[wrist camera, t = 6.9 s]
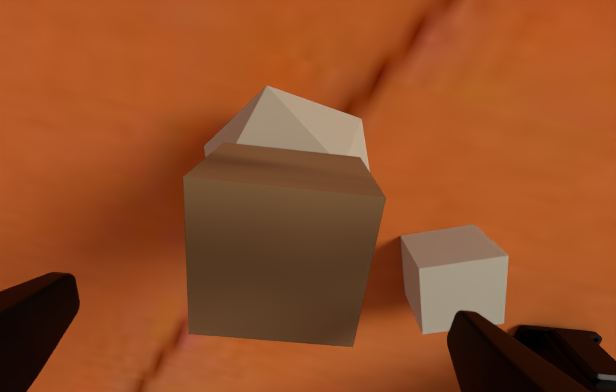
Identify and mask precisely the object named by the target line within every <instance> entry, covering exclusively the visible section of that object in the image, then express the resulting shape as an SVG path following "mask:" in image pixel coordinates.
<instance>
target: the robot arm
mask: <svg viewBox="0 0 616 392" xmlns="http://www.w3.org/2000/svg"><path fill="white" fill-rule="evenodd" d="M79 306H80V300H79V295H78V290H77V284H76V279H75V277H74V276H73V275H72V274H70V273H61V272H51V273H48V274H45V275H43V276H40V277H37V278H35V279H32V280H29V281H27V282H24V283H21V284H19V285H16V286H13V287H11V288H8V289H5V290H3V291H0V392H27V390H28V389H29V387H30V386H31V385H32V383H33V382H34V380H35V379H36V378H37V376H38V375H39V373H40V372H41V370H42V369H43V367H44V365H45V364H46V362H47V361H48V359H49V357H50V356H51V354H52V353H53V351H54V349H55V348H56V346H57V345H58V343H59V341H60V340H61V338H62V337H63V335H64V333H65V332H66V330H67V329H68V327H69V325H70V324H71V322H72V321H73V319H74V317H75V316H76V314H77V312H78V310H79ZM601 341H602V337H601V336H600V335H598V334H597V333H596V332H592V331H582V330H571V329H561V328H550V327H539V326H529V325H523V326H521V327H519V329H518V330H517V332H516V334H515V336H514V338H513V337H512V336H510V335H509V334H507V333H506V332H505V331H503V330H502V329H500V328H499V327H497V326H496V325H495V324H493V323H492V322H490V321H489V320H487V319H486V318H485V317H483V316H482V315H480V314H479V313H477V312H475V311H466V310H459V311H458V312H457V313H456V314H455V316H454V319H453V322H452V324H451V327H450V330H449V332H448V335H447V345H448V349H449V352H450V356H451V359H452V363H453V366H454V370H455V373H456V376H457V380H458V383H459V387H460V390H461V392H616V361H615V360H614V359H613V358H612V357H611V356H610V355H609V354H608V353H607V352H606V351H605V350H604V349H602V348H601V347H600V346H599V344H600V343H601Z"/></svg>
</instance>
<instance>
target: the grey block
mask: <svg viewBox="0 0 616 392" xmlns="http://www.w3.org/2000/svg"><path fill="white" fill-rule="evenodd" d="M400 238H401V251H402V263H403V276H404V289H405V295H406V298H407V300H408V302H409V304H410V307H411V309H412V311H413V314H414V316H415V318H416V320H417V323H418V325H419V327H420V329H421V332H422V334H430V333H437V332H445V331H449V330H450V327H451V324H452V322H453V319H454V316H455V314H456V313H457V312H458V311H459V310H466V311H475V312H477V313H479V314H480V315H482V316H483V317H485V318H486V319H487V320H489V321H490V322H492V323H493V324H495V325H497V324H504V315H505V300H506V286H507V271H508V257H509V255H508V254H506V253H505V252H504V251H503V250H502V249H501V248H500V247H499V246H498V245H497V244H495V243H494V242H493V241H492V240H491V239H490V238H489V237H488V236H487V235H486V234H484V233H483V232H482V231H481V230H480V229H479V228H478V227H477V226H476V225H475V224H473V225H466V226H460V227H453V228H447V229H441V230H434V231H428V232H422V233H415V234H409V235H402V236H400Z"/></svg>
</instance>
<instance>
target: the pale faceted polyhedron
mask: <svg viewBox="0 0 616 392" xmlns="http://www.w3.org/2000/svg"><path fill="white" fill-rule="evenodd" d="M223 142H227V143H236V144H245V145H254V146H263V147H273V148H282V149H291V150H300V151H309V152H318V153H327V154H337V155H346V156H355V157H360V158H361V159H362V161H363V162H364V164H365V165H366V167H367V169H368V170H369V163H368V157H367V151H366V145H365V138H364V132H363V126H362V119H360V118H358V117H355V116H352V115H349V114H346V113H343V112H341V111H338V110H335V109H332V108H329V107H327V106H324V105H321V104H318V103H315V102H312V101H310V100H307V99H304V98H301V97H298V96H295V95H293V94H290V93H287V92H284V91H281V90H278V89H276V88H273V87H270V86H266V87H265V88H264V89H263V90H262V91H261V92H260V93H259V94H258V95H257V96H255V97H254V98H253V99H252V100H251V101H250V102H249V103H248V104H247V105H246V106H245V107H244V108H243V109H242V110H241V111H240V112H239V113H238V114H237V115H236V116H235V117H234V118H232V119H231V120H230V121H229V122H228V123H227V124H226V125H225V126H224V127H223V128H222V129H221V130H220V131H219V132H218V133H217V134H216V135H215V136H214V137H213V138H212V139H211V140H210V141H208V142H207V143H206V144H205V145H204V152H205V158H206V157H207V156H208V155H209V154H210V153H212V152H213V151H214V150H215V149H216V148H218V147H219V146H220V145H221V144H222V143H223ZM369 172H370V170H369Z"/></svg>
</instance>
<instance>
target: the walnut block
mask: <svg viewBox="0 0 616 392" xmlns="http://www.w3.org/2000/svg"><path fill="white" fill-rule="evenodd" d="M183 187H184V214H185V241H186V268H187V294H188V321H189V334H197V335H209V336H222V337H234V338H246V339H259V340H271V341H284V342H296V343H308V344H321V345H333V346H346V347H353V345H354V340H355V336H356V331H357V326H358V322H359V317H360V313H361V308H362V304H363V299H364V295H365V290H366V286H367V281H368V277H369V272H370V268H371V263H372V259H373V254H374V250H375V245H376V240H377V236H378V231H379V227H380V222H381V218H382V213H383V209H384V204H385V200H386V197H385V195H384V194H383V192H382V191H381V189H380V187H379V186H378V184H377V183H376V181H375V180H374V178H373V176H372V175H371V173H370V172H369V170H368V169H367V167H366V165H365V164H364V162H363V161H362V159H361V158H360V157H355V156H346V155H337V154H327V153H318V152H309V151H300V150H291V149H282V148H273V147H263V146H254V145H245V144H236V143H227V142H223V143H222V144H221V145H220V146H219V147H218V148H216V149H215V150H214V151H213V152H212V153H210V154H209V155H208V156H207V157H206V158H205V159H203V160H202V161H201V162H200V163H199V164H197V165H196V166H195V167H194V168H193V169H192V170H190V171H189V172H188V173H187V174H186V175H184V176H183Z"/></svg>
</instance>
